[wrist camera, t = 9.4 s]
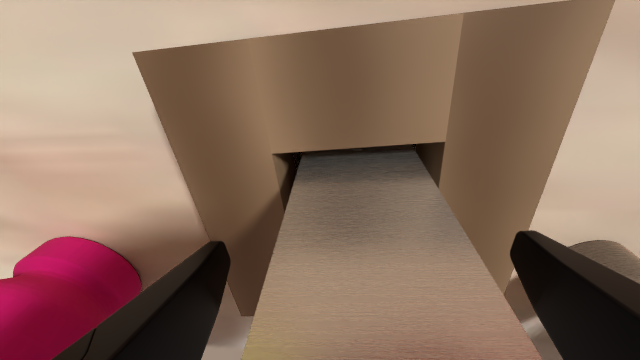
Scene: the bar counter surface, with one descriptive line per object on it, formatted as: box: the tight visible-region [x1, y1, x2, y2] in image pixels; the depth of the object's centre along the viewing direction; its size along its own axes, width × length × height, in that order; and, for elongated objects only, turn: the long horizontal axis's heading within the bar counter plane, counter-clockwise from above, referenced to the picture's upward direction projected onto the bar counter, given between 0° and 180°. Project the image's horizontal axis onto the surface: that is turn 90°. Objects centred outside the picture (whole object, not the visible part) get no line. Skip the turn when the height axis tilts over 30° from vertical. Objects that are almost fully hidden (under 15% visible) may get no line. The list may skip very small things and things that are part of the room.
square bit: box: [241, 144, 543, 360], centre depth 8 cm, size 4×4×9 cm
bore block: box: [133, 0, 615, 316], centre depth 11 cm, size 12×12×3 cm
